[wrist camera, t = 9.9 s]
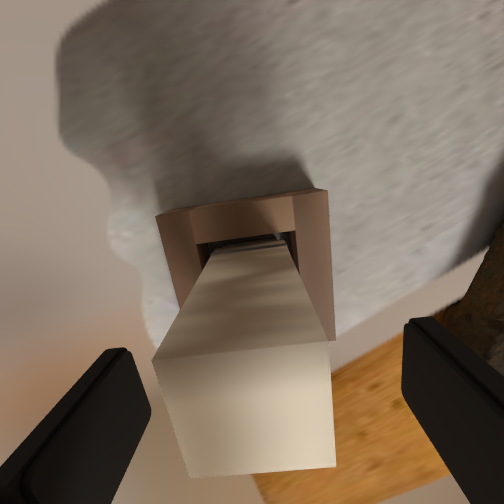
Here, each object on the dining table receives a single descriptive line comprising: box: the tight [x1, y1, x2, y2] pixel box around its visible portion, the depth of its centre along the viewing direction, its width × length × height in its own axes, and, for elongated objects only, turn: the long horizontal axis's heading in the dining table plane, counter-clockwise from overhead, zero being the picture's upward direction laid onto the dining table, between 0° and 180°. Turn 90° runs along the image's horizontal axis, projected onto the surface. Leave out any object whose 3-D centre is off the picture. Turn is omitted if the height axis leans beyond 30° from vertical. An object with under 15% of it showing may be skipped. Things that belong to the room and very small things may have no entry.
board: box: [155, 188, 336, 341], centre depth 17 cm, size 10×10×3 cm
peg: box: [152, 238, 336, 478], centre depth 12 cm, size 5×5×12 cm
